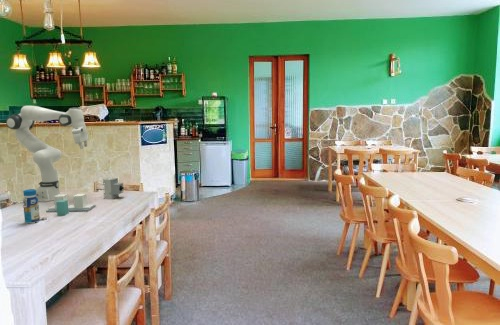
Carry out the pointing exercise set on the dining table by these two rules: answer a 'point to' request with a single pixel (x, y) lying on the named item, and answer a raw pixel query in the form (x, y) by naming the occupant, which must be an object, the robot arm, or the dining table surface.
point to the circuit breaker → (112, 188)
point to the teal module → (62, 207)
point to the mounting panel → (79, 203)
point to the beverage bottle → (31, 206)
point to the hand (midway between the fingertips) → (83, 147)
